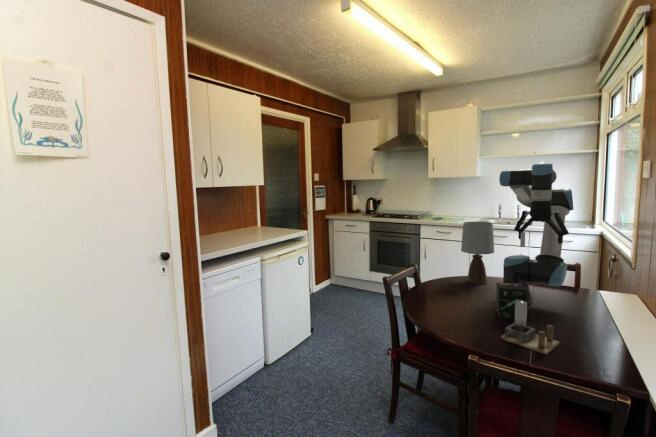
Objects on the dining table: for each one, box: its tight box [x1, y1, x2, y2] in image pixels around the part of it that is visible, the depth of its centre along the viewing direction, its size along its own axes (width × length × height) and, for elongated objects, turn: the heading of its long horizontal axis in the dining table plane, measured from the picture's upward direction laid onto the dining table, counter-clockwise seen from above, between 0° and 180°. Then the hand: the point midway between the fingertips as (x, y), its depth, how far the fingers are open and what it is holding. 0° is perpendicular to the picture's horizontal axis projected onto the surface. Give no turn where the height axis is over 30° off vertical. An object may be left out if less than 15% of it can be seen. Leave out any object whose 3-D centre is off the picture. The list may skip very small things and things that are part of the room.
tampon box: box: [495, 282, 526, 321], centre depth 150 cm, size 11×9×15 cm
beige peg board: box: [500, 322, 560, 355], centre depth 127 cm, size 16×12×7 cm
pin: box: [514, 300, 528, 333], centre depth 129 cm, size 4×4×14 cm
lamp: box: [460, 221, 495, 285], centre depth 201 cm, size 19×19×37 cm
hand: (539, 248), depth 141 cm, fingers open, 13 cm apart
